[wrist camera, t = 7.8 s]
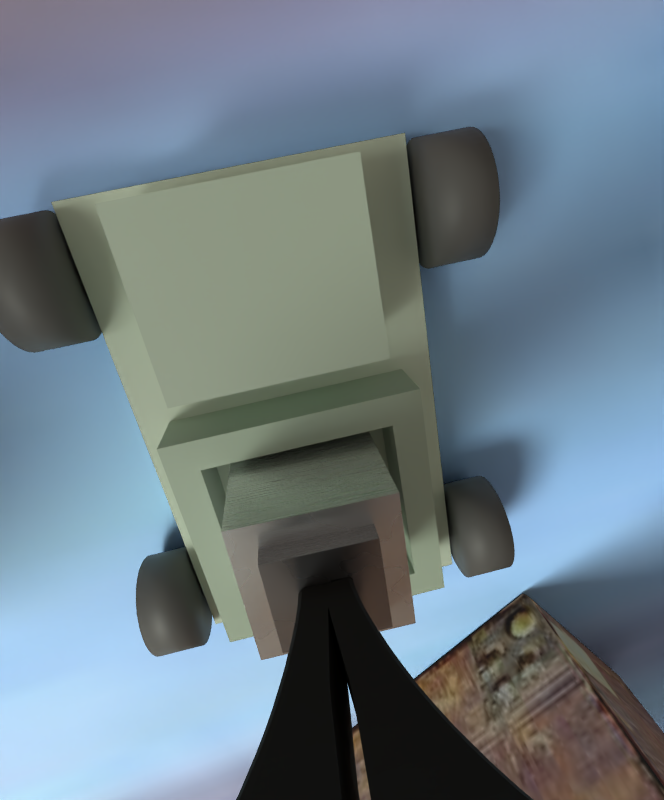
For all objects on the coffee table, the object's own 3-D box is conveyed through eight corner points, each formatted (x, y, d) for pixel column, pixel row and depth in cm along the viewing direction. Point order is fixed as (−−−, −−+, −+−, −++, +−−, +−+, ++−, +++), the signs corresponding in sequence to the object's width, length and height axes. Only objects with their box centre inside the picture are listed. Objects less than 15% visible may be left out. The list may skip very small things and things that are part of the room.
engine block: (261, 544, 18) (261, 679, 12) (233, 441, 16) (218, 548, 11) (376, 518, 18) (422, 640, 13) (360, 414, 16) (406, 506, 11)
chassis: (180, 605, 20) (158, 707, 16) (15, 215, 14) (-91, 212, 10) (475, 531, 21) (528, 610, 17) (442, 130, 15) (514, 95, 10)
